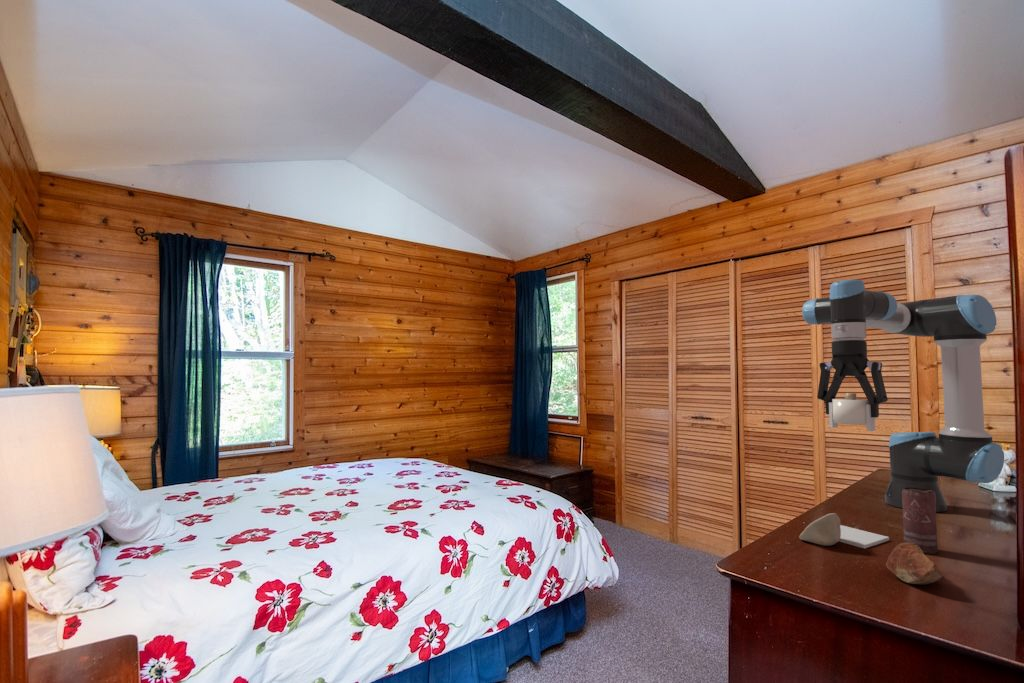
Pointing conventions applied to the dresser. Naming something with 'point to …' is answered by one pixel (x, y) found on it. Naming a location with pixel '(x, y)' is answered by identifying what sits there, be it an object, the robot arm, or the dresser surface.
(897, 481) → the robot arm
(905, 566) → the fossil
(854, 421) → the cloche
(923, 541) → the can
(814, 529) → the stone
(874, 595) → the dresser surface
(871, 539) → the mat
